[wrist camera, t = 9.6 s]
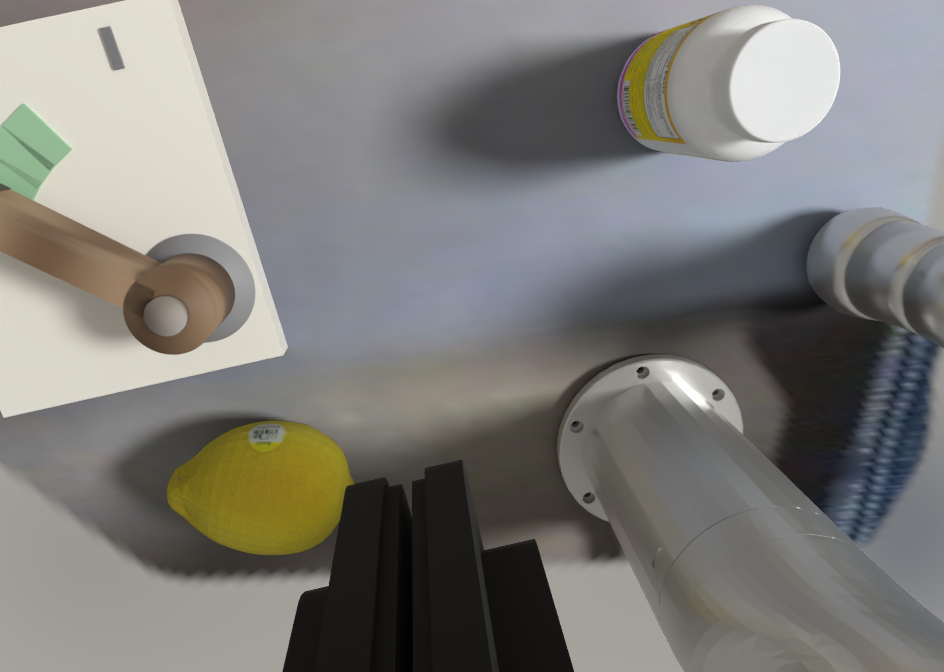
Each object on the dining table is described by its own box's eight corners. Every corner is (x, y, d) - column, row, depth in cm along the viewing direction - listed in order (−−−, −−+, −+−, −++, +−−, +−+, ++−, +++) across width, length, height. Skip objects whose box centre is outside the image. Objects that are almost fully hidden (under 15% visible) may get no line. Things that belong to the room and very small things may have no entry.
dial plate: (287, 346, 42) (282, 356, 40) (17, 407, 42) (1, 419, 40) (176, -4, 35) (165, -10, 34) (-145, 65, 35) (-172, 63, 33)
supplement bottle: (747, 70, 39) (900, 51, 27) (682, 172, 40) (798, 198, 28) (655, 4, 37) (772, -46, 25) (590, 113, 39) (672, 114, 27)
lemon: (377, 420, 44) (370, 485, 36) (347, 520, 46) (335, 601, 39) (209, 379, 42) (164, 437, 34) (186, 485, 44) (139, 562, 37)
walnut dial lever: (248, 276, 38) (224, 300, 33) (216, 341, 39) (189, 373, 34) (0, 153, 35) (-65, 159, 30) (-28, 227, 36) (-94, 244, 31)
